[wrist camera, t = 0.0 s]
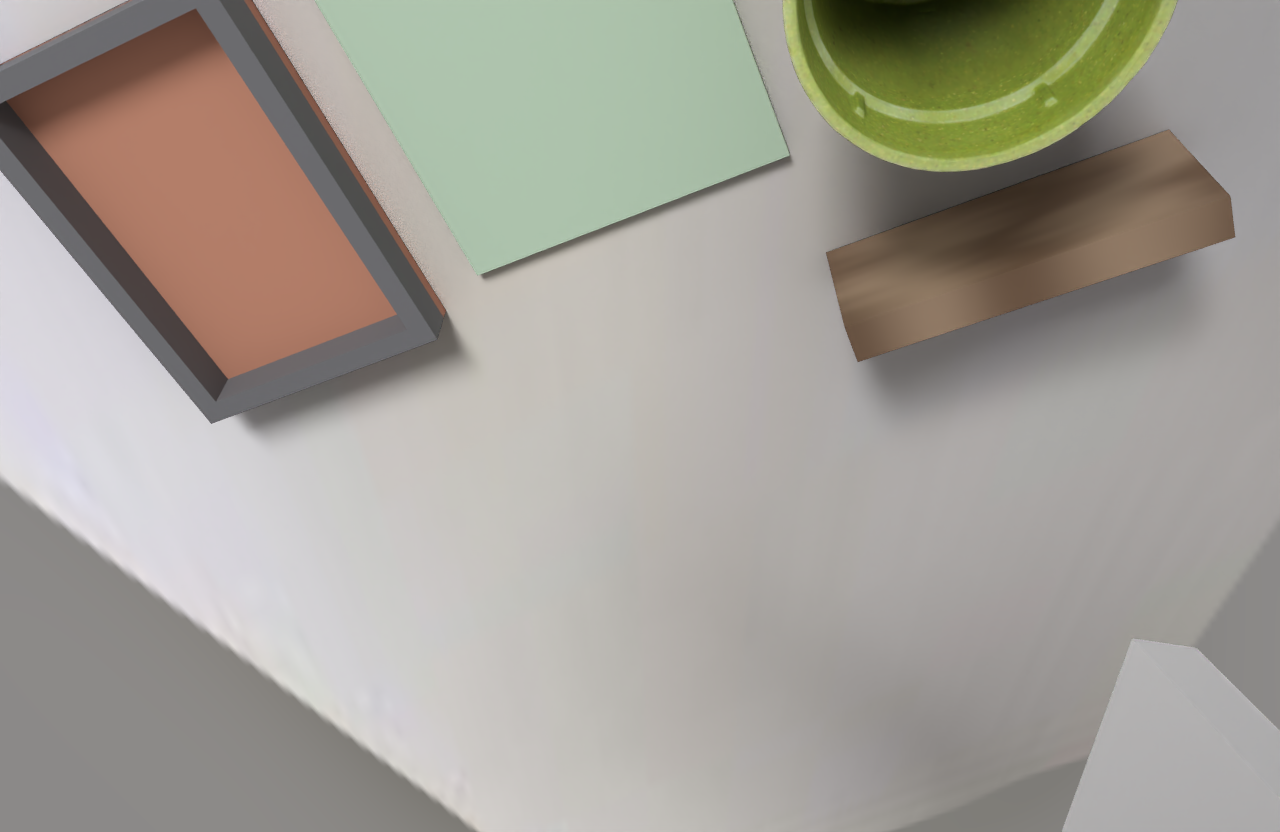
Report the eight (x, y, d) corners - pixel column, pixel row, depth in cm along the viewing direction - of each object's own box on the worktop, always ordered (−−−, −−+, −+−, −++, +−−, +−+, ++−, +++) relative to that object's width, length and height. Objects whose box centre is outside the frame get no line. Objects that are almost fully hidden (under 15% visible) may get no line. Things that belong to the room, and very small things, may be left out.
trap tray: (222, -47, 34) (201, -29, 33) (445, 310, 42) (437, 339, 40) (-27, 77, 37) (-58, 100, 35) (227, 393, 44) (211, 423, 43)
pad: (652, -219, 31) (651, -217, 31) (788, 150, 38) (789, 155, 37) (294, -44, 34) (290, -41, 34) (478, 270, 41) (477, 275, 40)
